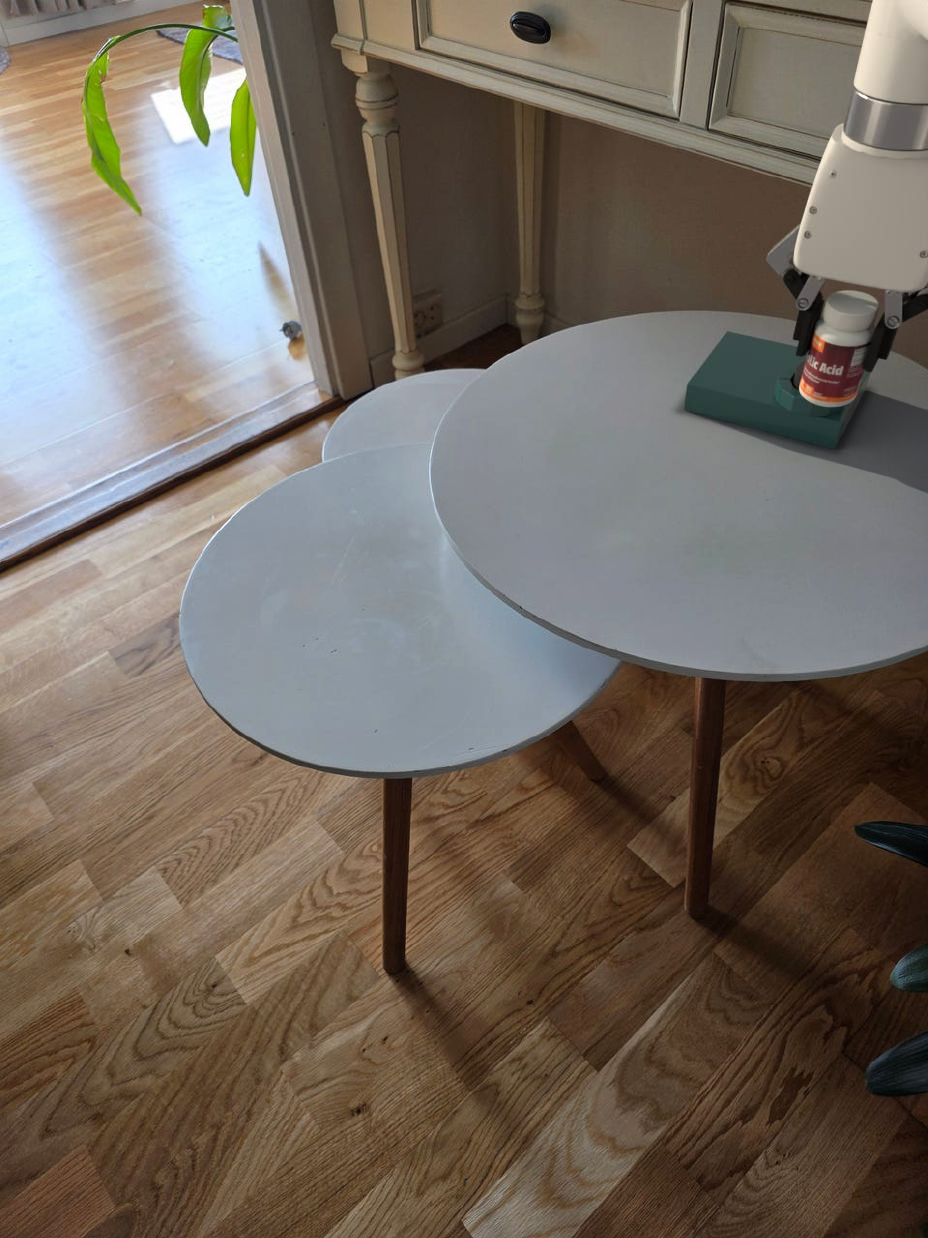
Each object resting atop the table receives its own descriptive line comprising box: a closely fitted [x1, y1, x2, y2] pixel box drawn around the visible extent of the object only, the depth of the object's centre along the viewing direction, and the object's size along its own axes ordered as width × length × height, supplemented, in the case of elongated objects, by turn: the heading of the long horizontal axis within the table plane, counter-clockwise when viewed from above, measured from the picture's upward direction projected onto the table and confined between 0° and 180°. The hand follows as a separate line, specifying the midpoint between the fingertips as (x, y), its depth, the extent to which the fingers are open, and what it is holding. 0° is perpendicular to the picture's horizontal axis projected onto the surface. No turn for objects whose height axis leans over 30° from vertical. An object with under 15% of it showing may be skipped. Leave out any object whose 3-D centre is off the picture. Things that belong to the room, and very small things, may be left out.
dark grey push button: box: [793, 361, 806, 391], centre depth 87 cm, size 4×4×2 cm
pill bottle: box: [799, 289, 880, 407], centre depth 72 cm, size 5×5×8 cm
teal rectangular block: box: [683, 330, 872, 450], centre depth 92 cm, size 16×12×5 cm
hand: (838, 354), depth 72 cm, fingers closed on pill bottle, 4 cm apart
